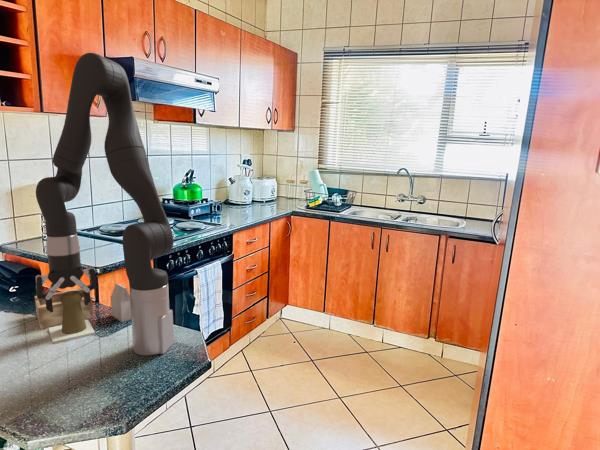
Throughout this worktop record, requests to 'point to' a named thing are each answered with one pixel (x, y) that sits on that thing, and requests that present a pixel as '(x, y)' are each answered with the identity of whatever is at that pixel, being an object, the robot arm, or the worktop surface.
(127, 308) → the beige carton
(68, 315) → the cork
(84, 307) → the open rectangular wooden frame
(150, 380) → the worktop surface
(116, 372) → the worktop surface
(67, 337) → the cream mat
